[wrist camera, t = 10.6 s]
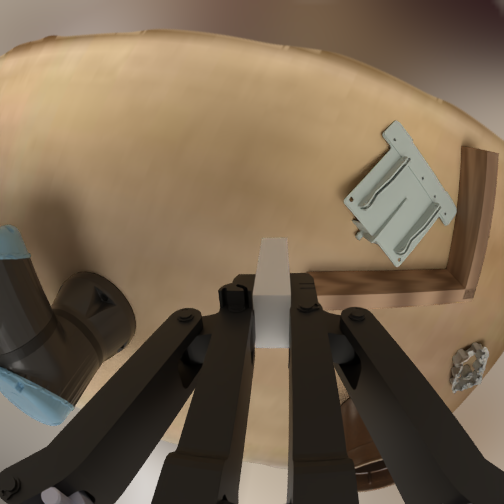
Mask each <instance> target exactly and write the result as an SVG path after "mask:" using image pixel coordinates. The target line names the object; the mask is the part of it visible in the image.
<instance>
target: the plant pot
mask: <svg viewBox="0 0 504 504" xmlns="http://www.w3.org/2000/svg"><path fill="white" fill-rule="evenodd" d="M341 413H342V420H343V427H344V434H345V442H346V449H347V455H348V457H349V458H351V459H352V460H353V462H354V466H355V472H356V481H357V490H358V492H367V491H373V490H377V489H381V488H385V487H388V486H391V485H394V484H395V482H394V480H393V478H392V476H391V475H390V473H389V471H388V469H387V467H386V465H385V463H384V461H383V459H382V457H381V455H380V453H379V451H378V449H377V447H376V445H375V443H374V441H373V439H372V437H371V436H370V434H369V432H368V430H367V428H366V426H365V424H364V422H363V420H362V418H361V416H360V415H359V413H358V411H357V409H356V407H355V405H354V403H353V401H352V399H351V398H350V399H348V400H347V401H346V402H345V403H344V404H343V405H342V406H341Z"/></svg>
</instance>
